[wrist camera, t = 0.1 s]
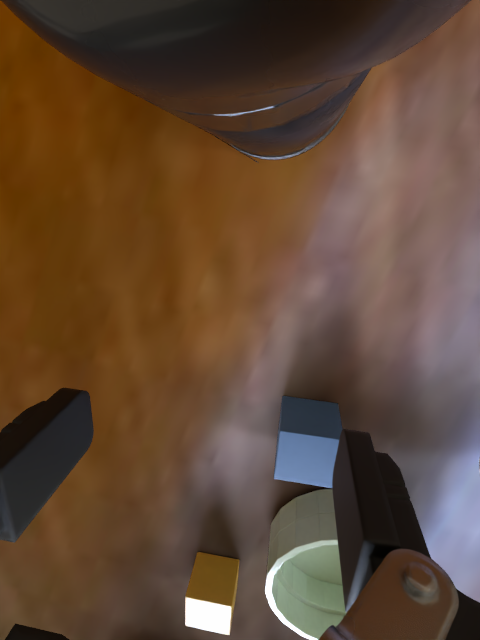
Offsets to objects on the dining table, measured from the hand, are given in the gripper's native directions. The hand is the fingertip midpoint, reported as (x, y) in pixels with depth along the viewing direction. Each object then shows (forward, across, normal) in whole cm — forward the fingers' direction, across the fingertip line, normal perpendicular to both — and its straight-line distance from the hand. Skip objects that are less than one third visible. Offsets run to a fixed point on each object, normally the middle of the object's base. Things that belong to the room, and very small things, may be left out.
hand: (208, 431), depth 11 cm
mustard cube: (+17, +2, +33) cm, 37 cm away
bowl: (+17, -10, +25) cm, 32 cm away
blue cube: (+17, -5, +12) cm, 21 cm away
